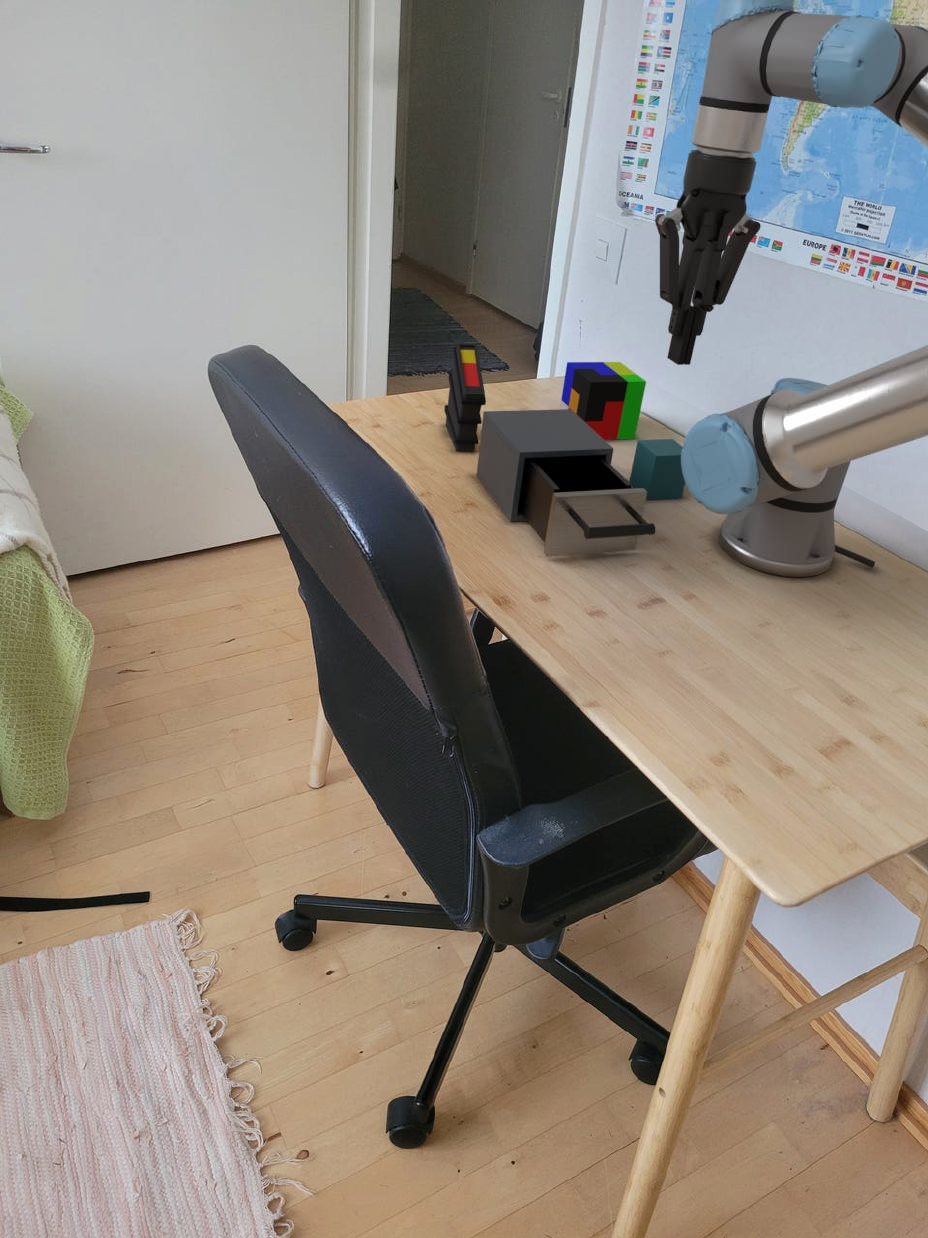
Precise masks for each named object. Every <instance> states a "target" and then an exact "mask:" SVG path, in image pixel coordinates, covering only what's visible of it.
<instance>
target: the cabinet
mask: <svg viewBox="0 0 928 1238" xmlns="http://www.w3.org/2000/svg"><path fill="white" fill-rule="evenodd" d="M482 413H483V414H482V422H481V433H480V440H479V441H480V442H479V450H478V458H477V467H476V478H477V480H478V481H479V483H481V486H483V488H484V489H485V491H486V492H487V493H488V495H489V496H490V497H491V498H492V499H493V501H494V502H495V504H496V505H497V506H498V507H499V509H500V510H501V512H502V513H503V514H504V516H505V517H506V518H507V520H508V521H509V522H510V523H515V522H516V523H517V522H528V521H527V520H526V518H525V517H524V516H523V515H522V513H521V512H520V511H519V510H518V505H519V498H520V491H521V484H522V476H523V469H524V462H525V458H541V457H565V456H590V455H601V456H602V457H603V458H604V459H605V460H606V461H607V462H608V463H609V464H610V465H611V466H612V460H613V454H614V447H612V446H611V444H610V443H608V442H607V441H606V440H604V439H603V438H602V437H600V436H599V435H598V434H597V433H596V432H595V431H594V430H593V429H592V428H591V427H590V426H589V425H587V424H586V423H585V422H584V421H583V420H582V419H581V418H580V417H579V416H578V415H577V414H575V413H574V412H573V411H572V410H571V409H561V410H560V409H529V410H528V409H526V410H520V409H519V410H488V411H487V410H484V411H483V412H482Z"/></svg>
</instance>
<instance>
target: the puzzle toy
mask: <svg viewBox="0 0 928 1238" xmlns="http://www.w3.org/2000/svg"><path fill="white" fill-rule="evenodd" d="M646 384H647V380H645V379H643V378H642V377H641V376H640V375H638V374H637V373H636V372H635V371H633V370H631V369H630V368H629V367H627V366H626V365H625V364H624V363H623V362H621V361H573V362H572V361H567V362H566V367H565V374H564V381H563V387H562V394H561V399H560V405H559V410H561V409H571V410H572V411H573V412H574V413H575V414H577V415H578V416H579V417H580V418H581V419H582V420H583V421H584V422H585V423H586V424H587V425H589V426H590V427H591V428H592V429H593V430H594V431H595V432H596V433H597V434H598V435H599V436H600V437H602V438H603V439H604V440H605V441H606V440H607V441H608V440H635V439H636V433H637V430H638V424H639V420H640V415H641V410H642V404H643V400H644V395H645V390H646V386H647V385H646Z"/></svg>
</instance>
